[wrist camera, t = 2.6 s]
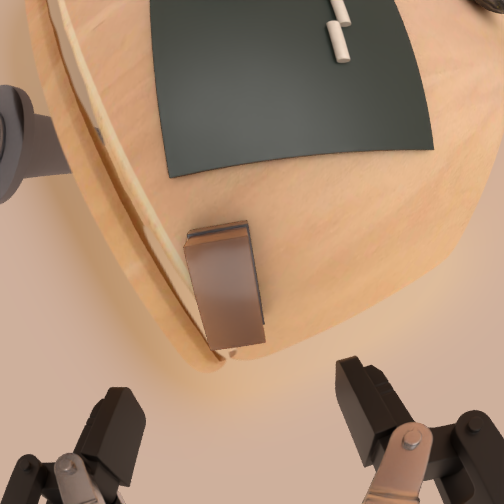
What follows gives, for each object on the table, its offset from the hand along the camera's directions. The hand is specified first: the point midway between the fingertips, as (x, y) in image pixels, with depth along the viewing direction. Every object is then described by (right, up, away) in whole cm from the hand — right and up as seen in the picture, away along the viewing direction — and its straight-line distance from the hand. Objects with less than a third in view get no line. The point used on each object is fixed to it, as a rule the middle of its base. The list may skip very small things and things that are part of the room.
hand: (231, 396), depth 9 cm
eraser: (-1, +3, +14) cm, 15 cm away
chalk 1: (+9, +27, +6) cm, 29 cm away
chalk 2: (+8, +23, +8) cm, 26 cm away
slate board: (+5, +23, +9) cm, 25 cm away
